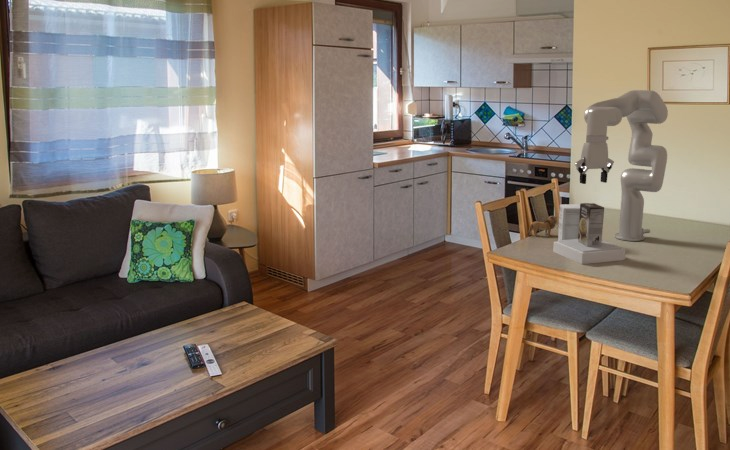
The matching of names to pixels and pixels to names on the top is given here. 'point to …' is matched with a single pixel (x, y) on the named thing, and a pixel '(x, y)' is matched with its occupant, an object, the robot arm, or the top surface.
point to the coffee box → (590, 224)
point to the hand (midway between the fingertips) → (593, 182)
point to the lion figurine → (543, 226)
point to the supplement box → (568, 221)
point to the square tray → (588, 251)
